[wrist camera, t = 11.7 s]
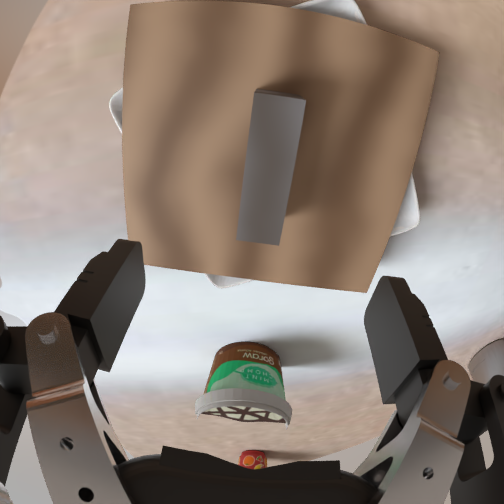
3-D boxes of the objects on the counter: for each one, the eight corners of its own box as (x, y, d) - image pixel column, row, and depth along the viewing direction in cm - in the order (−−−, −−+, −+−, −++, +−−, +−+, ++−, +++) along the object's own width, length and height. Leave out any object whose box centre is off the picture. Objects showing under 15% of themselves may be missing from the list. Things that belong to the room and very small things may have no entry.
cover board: (434, 52, 17) (467, 53, 13) (364, 287, 29) (376, 322, 25) (134, 6, 16) (105, -4, 12) (133, 257, 29) (115, 289, 25)
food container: (300, 342, 39) (305, 409, 31) (289, 368, 42) (290, 429, 34) (206, 329, 38) (192, 396, 30) (204, 356, 42) (192, 418, 33)
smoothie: (260, 459, 68) (257, 525, 51) (231, 454, 66) (224, 522, 50) (276, 451, 64) (273, 524, 47) (244, 446, 62) (238, 521, 45)
